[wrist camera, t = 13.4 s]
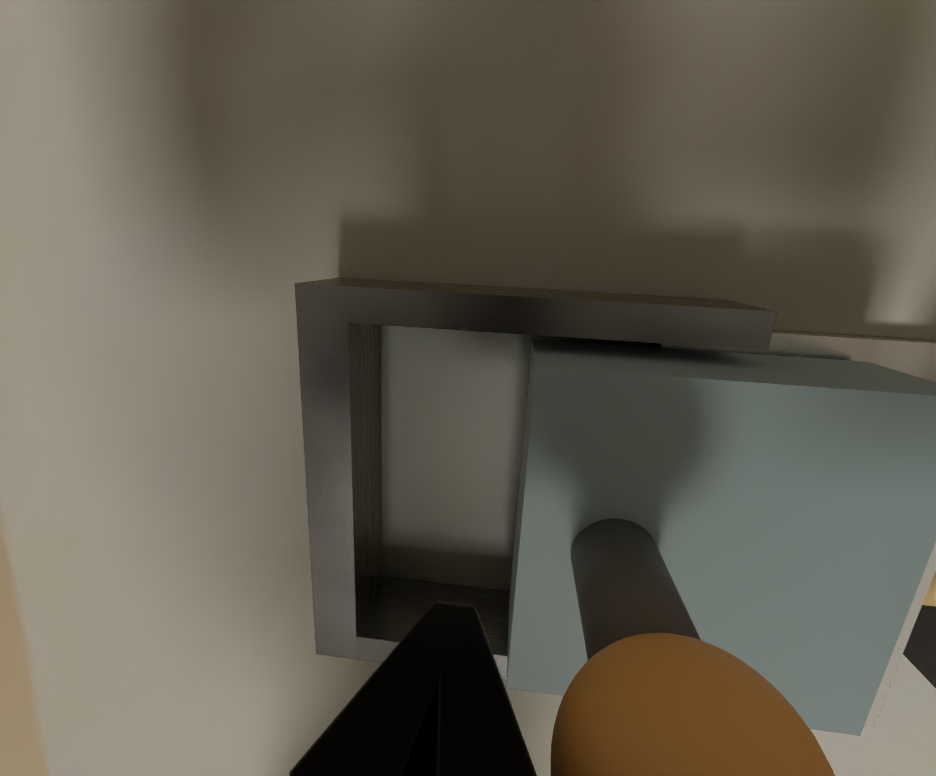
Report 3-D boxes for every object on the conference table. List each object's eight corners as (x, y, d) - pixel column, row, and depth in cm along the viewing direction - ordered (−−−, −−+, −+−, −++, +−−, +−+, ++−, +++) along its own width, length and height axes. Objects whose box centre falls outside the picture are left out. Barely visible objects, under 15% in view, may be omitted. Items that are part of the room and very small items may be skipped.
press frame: (1057, 677, 14) (1231, 815, 10) (347, 592, 16) (300, 685, 12) (1241, 328, 11) (1569, 362, 7) (337, 278, 13) (271, 286, 9)
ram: (797, 632, 13) (1310, 1330, 5) (509, 598, 14) (492, 1146, 5) (881, 362, 11) (2183, 751, 2) (532, 339, 12) (566, 571, 3)
